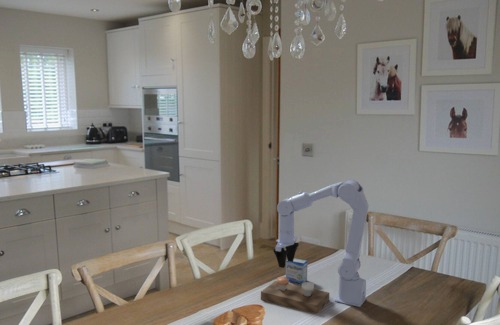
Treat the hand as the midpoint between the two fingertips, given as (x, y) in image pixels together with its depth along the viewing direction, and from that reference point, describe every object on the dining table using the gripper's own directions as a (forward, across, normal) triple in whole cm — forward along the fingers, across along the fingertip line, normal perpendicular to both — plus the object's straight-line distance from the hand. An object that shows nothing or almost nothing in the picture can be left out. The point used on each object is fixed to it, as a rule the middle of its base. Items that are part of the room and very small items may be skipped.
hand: (286, 264), depth 170 cm
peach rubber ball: (+7, +8, +2) cm, 11 cm away
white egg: (+7, +8, +12) cm, 16 cm away
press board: (+10, +8, +7) cm, 15 cm away
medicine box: (+10, -9, 0) cm, 14 cm away
